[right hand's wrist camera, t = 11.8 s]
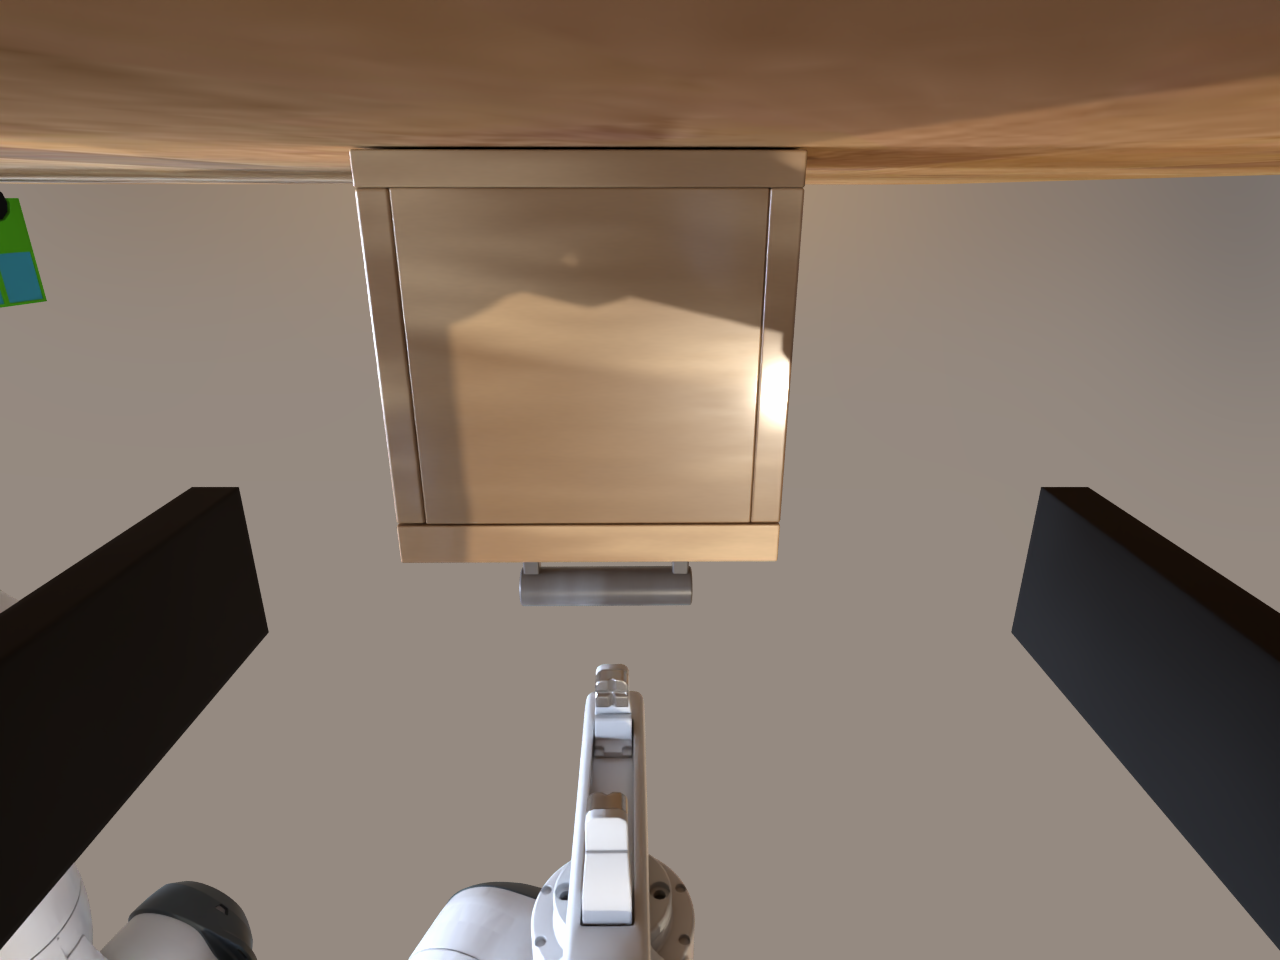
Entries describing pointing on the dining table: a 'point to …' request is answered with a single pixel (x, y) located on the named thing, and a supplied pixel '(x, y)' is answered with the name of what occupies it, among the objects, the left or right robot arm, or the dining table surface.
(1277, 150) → the dining table surface
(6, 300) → the toy car
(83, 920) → the left robot arm
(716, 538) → the lid
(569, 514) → the chest
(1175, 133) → the dining table surface
